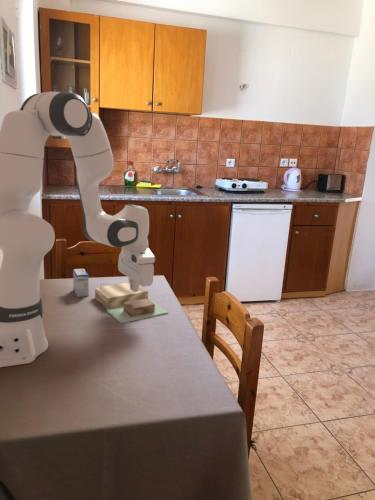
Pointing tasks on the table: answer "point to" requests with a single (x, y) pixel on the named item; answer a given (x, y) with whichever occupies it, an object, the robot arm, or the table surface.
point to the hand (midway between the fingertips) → (133, 290)
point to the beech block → (118, 294)
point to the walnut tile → (139, 307)
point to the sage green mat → (124, 317)
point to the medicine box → (80, 282)
